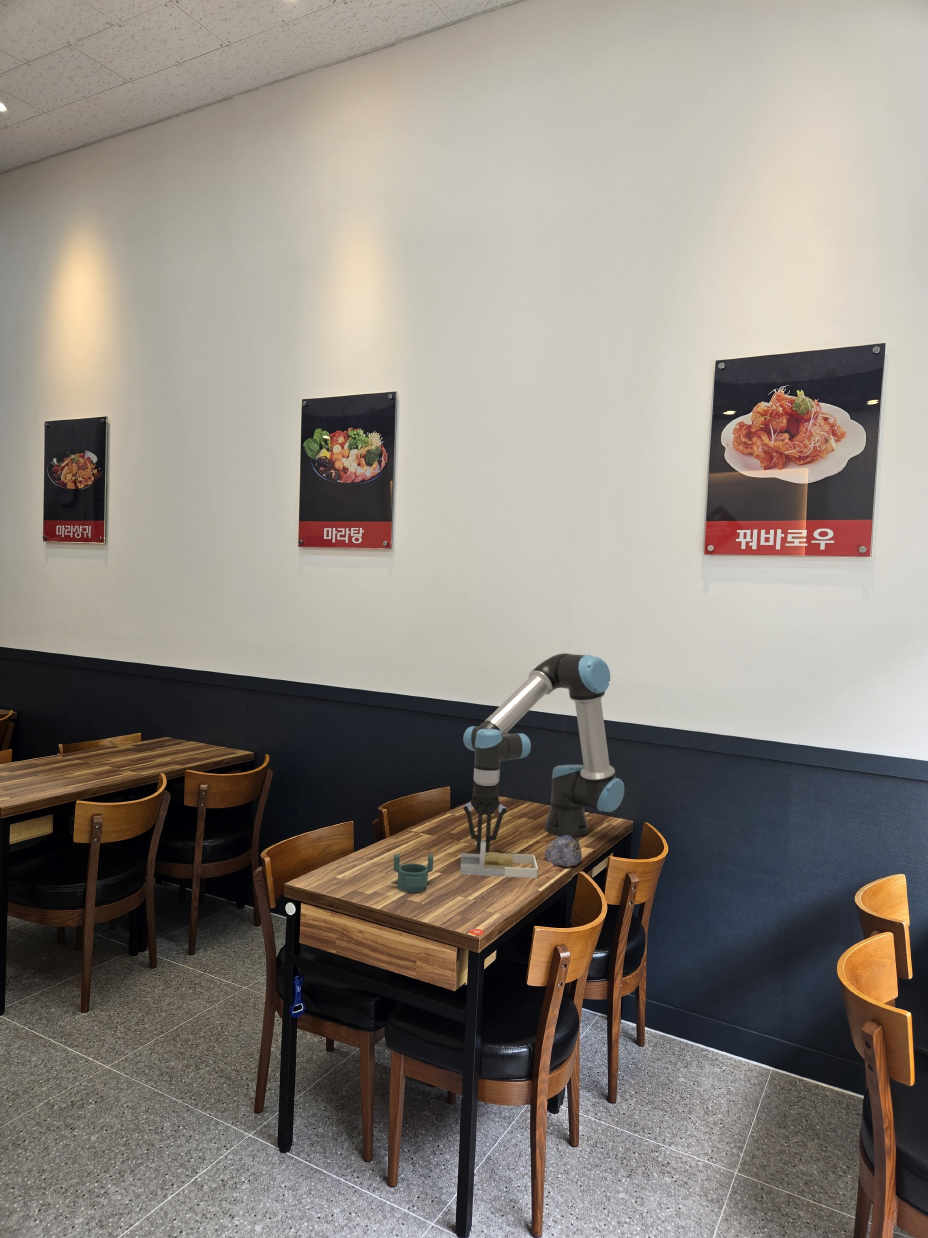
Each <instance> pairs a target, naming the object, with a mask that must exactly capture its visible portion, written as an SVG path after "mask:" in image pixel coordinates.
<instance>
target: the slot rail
mask: <svg viewBox="0 0 928 1238" xmlns="http://www.w3.org/2000/svg"><path fill="white" fill-rule="evenodd" d="M504 874H505V867H504V866H502V865H482V864H480V853H467V852H465V853H464V852H461V853H460V875H462V876H463V875H468V876H487V877H488V876H489V877H504Z"/></svg>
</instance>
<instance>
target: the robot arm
mask: <svg viewBox="0 0 928 1238" xmlns="http://www.w3.org/2000/svg"><path fill="white" fill-rule="evenodd" d="M609 682H611V672H610V668H609V665H608V664H607V663H606V661H605V660H604V659H602V658H601V657H598V656H593V655H591V654H587V655H585V654H572V653H565V652H564V653H557V654H555V655H552V656H550V657H548V658H547V659H545V660H543V661H542V662H541V663H539V664H538V665H537V666H536V667H535V668H533V669H532V670H531V671H530V672H529V673H528V678H527V679H526V680H525V681H524V682H523V683H522V684H521V685H520V686H519V687H518V688H517V689H515V691H514V692H513V693H512V694H511V695H509V696H508V698H506V700H504V701H503V703H501V704H500V705H499V707H498V708H497V709H496V710H495V711H494V712H493V713H492V714H490V715H489V716H488V717H487V718H486V719H485V720H484V721H483V722H482V723H481V724H480V725H479V726H476V725H475V726H474V725H473V726H469V727H467V729H466V730H465V731H464V734H463V737H462V739H463V744H464V746H465V748H467V749H468V750H470V751H473V752H474V766H473V781H474V782H473V785H472V786H473V787H472V798H471V799H470V802H468V803H467V804H464V805H463V806H462V807H463V811H464V813H465V814H466V817H467V824H468V828H469V835H470V838H471V839H472V840H474V841H476V847H475V848H476V853H479V854H480V864H482V865H485V852H486V853H489V852H490V846H491V841H496V840H497V837H498V835H499V830H500V828H501V824H502V821H503V817H504V816H505V814H506V813H507V812H508V811H507V806H505V805H502V804H501V801H500V800H499V794H500V793H499V791H500V785H499V782H500V775H501V771H500V770H501V762H502V761H512V760H520V759H523V758H526V757H527V756H528V755H530V752H531V750H532V745H531V740H530V738H529V737H528V736H527V735H526V734H525V733H518V732H516V733H515V732H514V733H508V732H509V731H510V730H511V729H512V728H513V727H514V726H515V725H516V724H517V723H518V722H519V721H520V720H521V719H522V718H523V717H524V716H525V715H526V714H527V713H528V712H529V711H530V710H531V709H532V708H533V707H534V706H535V705H536V704H537V703H538V702H539V701H540V700H541V699H542V698H543V697H544V696H545V695H550V694H551V693H552V692H553V691H554V690H556V689H567V690H568V693H569V694H568V695H569V699H570V700H572V701H573V702H574V705H575V712H576V713H575V714H576V719H577V727H578V733H579V735H578V736H579V740H580V741H579V742H580V748H581V755H582V763H583V764H563V765H562V764H561V765H557V766H555V767H554V768H552V777H551V794H550V796H551V797H550V799H551V800H550V809H549V811H548V814H547V817H546V819H545V822H544V830H545V831H546V832H547V833H550V834H552V835H557V836H563V835H571V836H573V837H583V836H586V835H587V834H588V833H589V823H588V821H587V818H586V813H585V807H586V808H591V809H593V810H598V811H599V812H605V813H612V812H615V810H617V809H618V807H619V806H620V805H621V803H622V800H623V798H624V796H625V784H624V782H623V780H622V779H620V778H618V777H617V776H616V771H615V768H614V767H613V766H612V765H610V760H609V759H610V758H609V751H608V743H607V736H606V728H605V720H604V712H603V706H602V705H603V704H602V698H603V697H604V696H605V693H606V691H607V690H608V688H609V686H610V683H609ZM472 809H474V811H475V812H476V814H477V827H476V828H477V830H476V832H477V833H476V832H475V829H474V828H475V827H474V823H473V821H474V820H473V817H472V812H471V811H472ZM497 810H498V813H497V817H496V820H495V823H494V827H493V831H492V830H491V827H492V815H494V813H495V812H496V811H497ZM483 816H486V826H485V827H486V828H485V839H482V829H483ZM491 831H492V834H491ZM587 832H588V833H587ZM585 834H586V835H585ZM582 835H583V836H582Z"/></svg>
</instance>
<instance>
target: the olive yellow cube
mask: <svg viewBox="0 0 928 1238" xmlns="http://www.w3.org/2000/svg"><path fill="white" fill-rule="evenodd" d="M499 853H500V852H499V851H498V852H497V851H489V853H486V852H485V865H499Z"/></svg>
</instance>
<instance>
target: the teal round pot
mask: <svg viewBox="0 0 928 1238" xmlns="http://www.w3.org/2000/svg"><path fill="white" fill-rule="evenodd" d="M393 854H394V855H393V871H394V872H396V873H397V885H396V887H397V889H398V890H399V891H401V892H405V893H413V894H414V893H421V892H425V891H427V886H428V885H429V884H428V881H429V873H432V872H433V870H434V854H428V855H427V857H428V858H427V866H426V865H425V864H421V863H404V864H403V863H402V864H401V865H400V859H401V855H400V854H399V853H393Z"/></svg>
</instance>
